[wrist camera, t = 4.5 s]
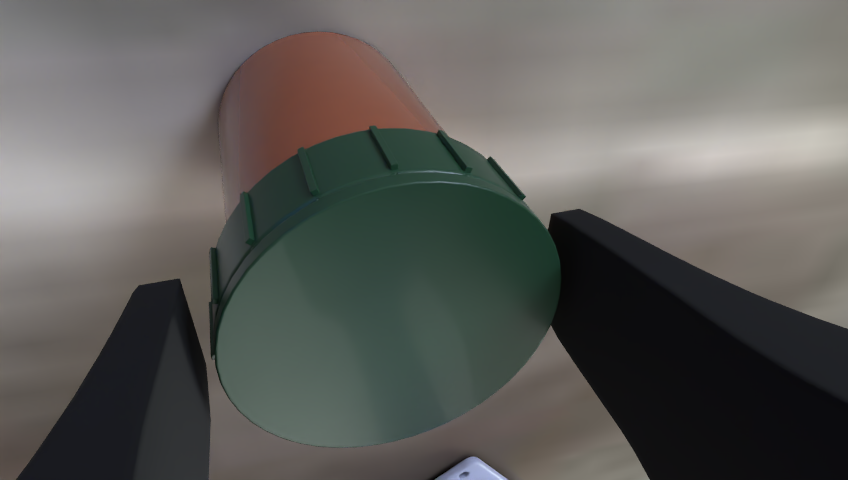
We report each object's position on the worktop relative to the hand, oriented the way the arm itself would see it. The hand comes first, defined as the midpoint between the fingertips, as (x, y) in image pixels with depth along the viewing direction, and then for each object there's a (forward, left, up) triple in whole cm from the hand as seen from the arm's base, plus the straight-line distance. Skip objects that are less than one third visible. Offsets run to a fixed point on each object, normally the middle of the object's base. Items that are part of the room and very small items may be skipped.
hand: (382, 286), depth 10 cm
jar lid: (0, 0, +1) cm, 1 cm away
